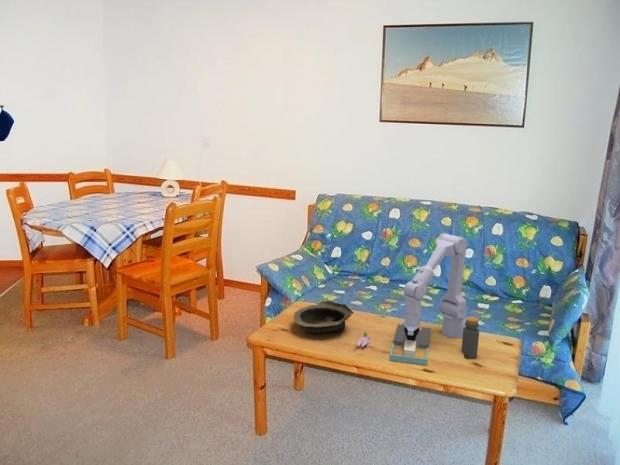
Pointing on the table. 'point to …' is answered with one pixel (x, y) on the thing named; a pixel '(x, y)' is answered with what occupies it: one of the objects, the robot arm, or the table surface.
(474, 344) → the bottle
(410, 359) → the tray
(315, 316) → the stone bowl
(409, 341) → the cream cube block
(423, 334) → the slotted plate
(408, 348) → the beige cube
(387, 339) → the table surface
